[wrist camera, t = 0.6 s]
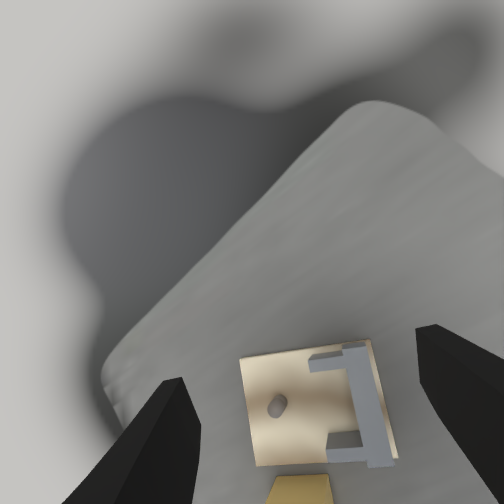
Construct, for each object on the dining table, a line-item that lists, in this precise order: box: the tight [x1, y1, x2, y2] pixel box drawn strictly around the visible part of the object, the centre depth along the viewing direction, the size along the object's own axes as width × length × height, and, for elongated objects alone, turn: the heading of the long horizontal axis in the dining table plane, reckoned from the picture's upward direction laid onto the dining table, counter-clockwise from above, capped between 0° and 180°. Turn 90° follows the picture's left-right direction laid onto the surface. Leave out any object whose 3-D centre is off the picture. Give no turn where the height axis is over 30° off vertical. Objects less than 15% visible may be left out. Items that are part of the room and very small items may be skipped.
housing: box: [308, 341, 395, 468], centre depth 28 cm, size 9×5×4 cm, turn 11°
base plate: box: [239, 339, 398, 466], centre depth 30 cm, size 10×13×4 cm
